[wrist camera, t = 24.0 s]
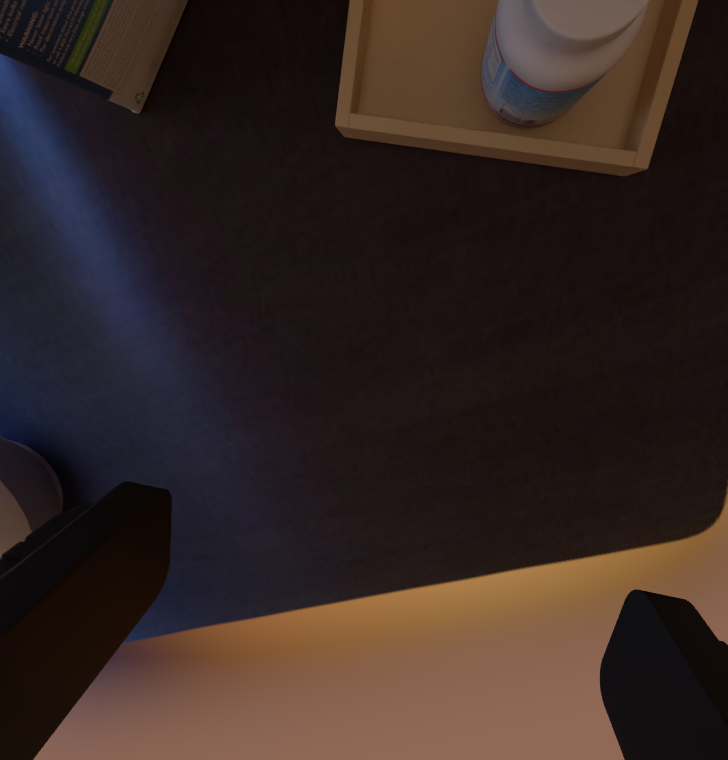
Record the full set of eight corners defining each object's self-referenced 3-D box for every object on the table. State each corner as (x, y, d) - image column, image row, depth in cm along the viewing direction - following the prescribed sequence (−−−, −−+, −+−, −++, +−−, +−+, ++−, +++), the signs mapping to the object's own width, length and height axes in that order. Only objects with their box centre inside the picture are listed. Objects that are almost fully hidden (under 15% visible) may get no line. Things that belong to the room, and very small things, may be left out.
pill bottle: (610, 72, 27) (728, -39, 16) (522, 153, 29) (576, 100, 18) (543, -17, 26) (621, -193, 16) (457, 72, 28) (474, -32, 17)
